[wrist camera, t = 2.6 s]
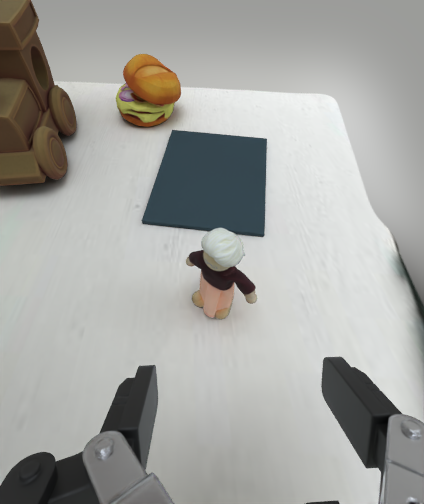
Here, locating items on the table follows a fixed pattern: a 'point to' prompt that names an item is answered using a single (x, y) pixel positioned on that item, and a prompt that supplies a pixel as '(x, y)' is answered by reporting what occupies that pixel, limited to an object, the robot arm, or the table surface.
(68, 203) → the table surface
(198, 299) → the grandmother figurine
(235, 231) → the mat
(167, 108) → the cheeseburger
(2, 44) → the wooden toy train
